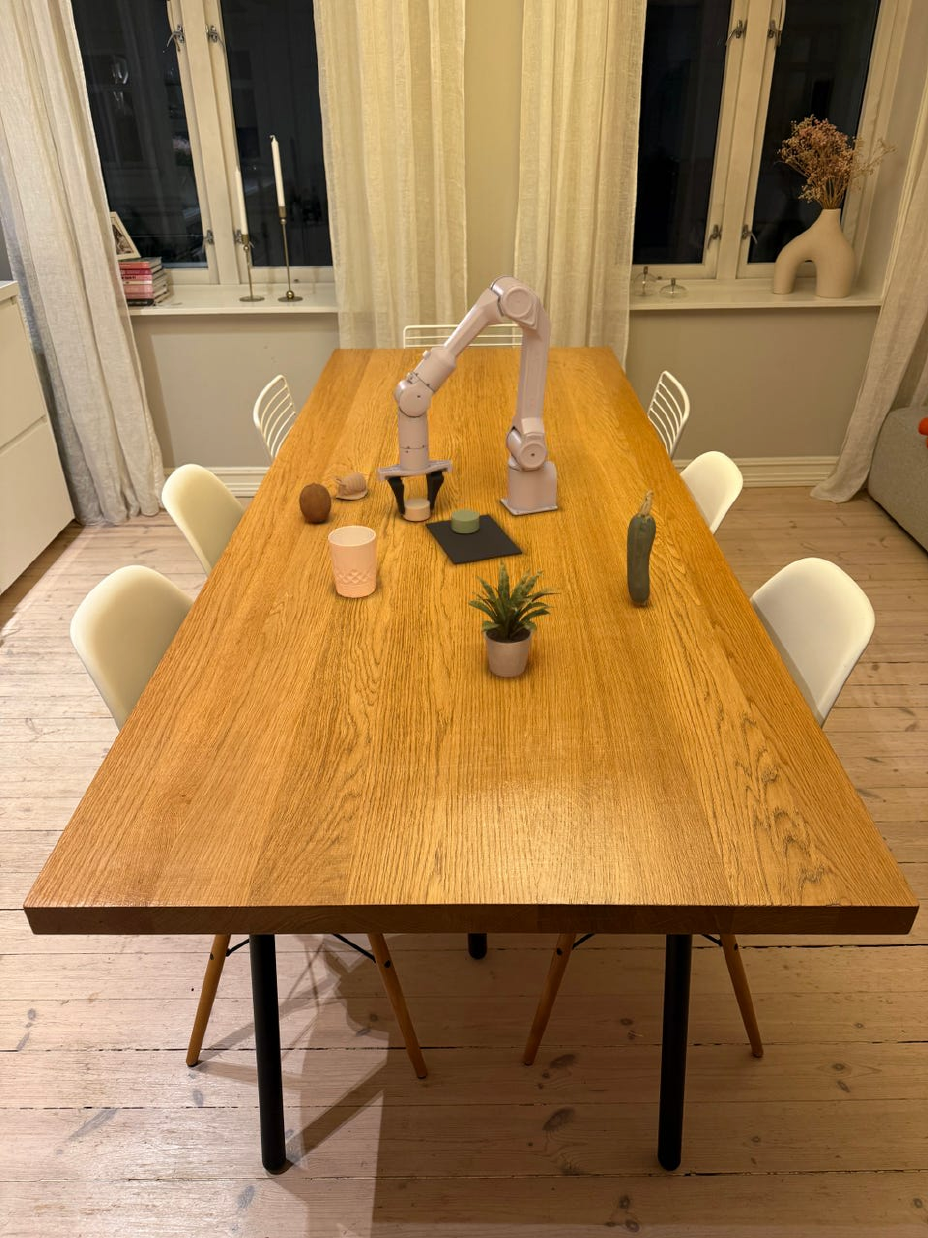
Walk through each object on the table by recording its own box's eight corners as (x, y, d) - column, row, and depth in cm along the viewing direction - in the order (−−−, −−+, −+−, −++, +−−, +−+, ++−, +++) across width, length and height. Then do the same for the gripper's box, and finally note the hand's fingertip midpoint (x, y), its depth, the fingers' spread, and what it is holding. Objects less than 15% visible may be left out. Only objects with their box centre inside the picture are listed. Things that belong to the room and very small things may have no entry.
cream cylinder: (426, 509, 192) (425, 496, 191) (433, 520, 188) (433, 506, 186) (399, 513, 191) (399, 500, 189) (407, 524, 186) (406, 510, 185)
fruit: (339, 520, 188) (336, 482, 184) (314, 530, 184) (311, 492, 180) (319, 512, 192) (315, 474, 188) (294, 522, 188) (290, 483, 184)
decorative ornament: (373, 494, 199) (371, 470, 196) (339, 505, 195) (337, 480, 192) (362, 489, 202) (360, 465, 199) (328, 499, 197) (326, 474, 195)
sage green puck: (474, 521, 186) (474, 507, 184) (483, 532, 181) (483, 518, 180) (447, 525, 184) (447, 511, 183) (456, 536, 180) (456, 522, 178)
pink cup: (386, 581, 165) (383, 528, 160) (367, 603, 159) (363, 548, 154) (345, 575, 168) (340, 523, 163) (324, 596, 161) (319, 542, 156)
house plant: (524, 711, 132) (527, 607, 123) (440, 682, 138) (437, 582, 130) (571, 663, 142) (576, 564, 134) (490, 638, 148) (491, 543, 140)
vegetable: (632, 613, 155) (641, 498, 145) (616, 602, 158) (624, 489, 148) (654, 607, 156) (665, 492, 146) (638, 596, 160) (648, 483, 150)
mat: (488, 515, 189) (488, 514, 189) (522, 553, 174) (522, 551, 174) (425, 525, 185) (425, 523, 185) (454, 564, 171) (454, 562, 170)
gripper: (444, 432, 187) (445, 497, 194) (371, 441, 183) (375, 507, 190) (455, 444, 181) (456, 510, 188) (380, 453, 177) (384, 521, 184)
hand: (416, 510), depth 188 cm, fingers closed on cream cylinder, 5 cm apart
